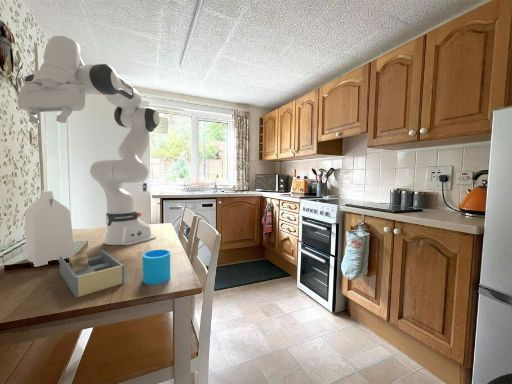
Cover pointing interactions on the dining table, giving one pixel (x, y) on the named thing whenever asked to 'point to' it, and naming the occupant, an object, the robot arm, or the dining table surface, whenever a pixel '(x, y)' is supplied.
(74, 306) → the dining table surface
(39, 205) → the milk
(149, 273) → the mug
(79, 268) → the block
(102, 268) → the box
